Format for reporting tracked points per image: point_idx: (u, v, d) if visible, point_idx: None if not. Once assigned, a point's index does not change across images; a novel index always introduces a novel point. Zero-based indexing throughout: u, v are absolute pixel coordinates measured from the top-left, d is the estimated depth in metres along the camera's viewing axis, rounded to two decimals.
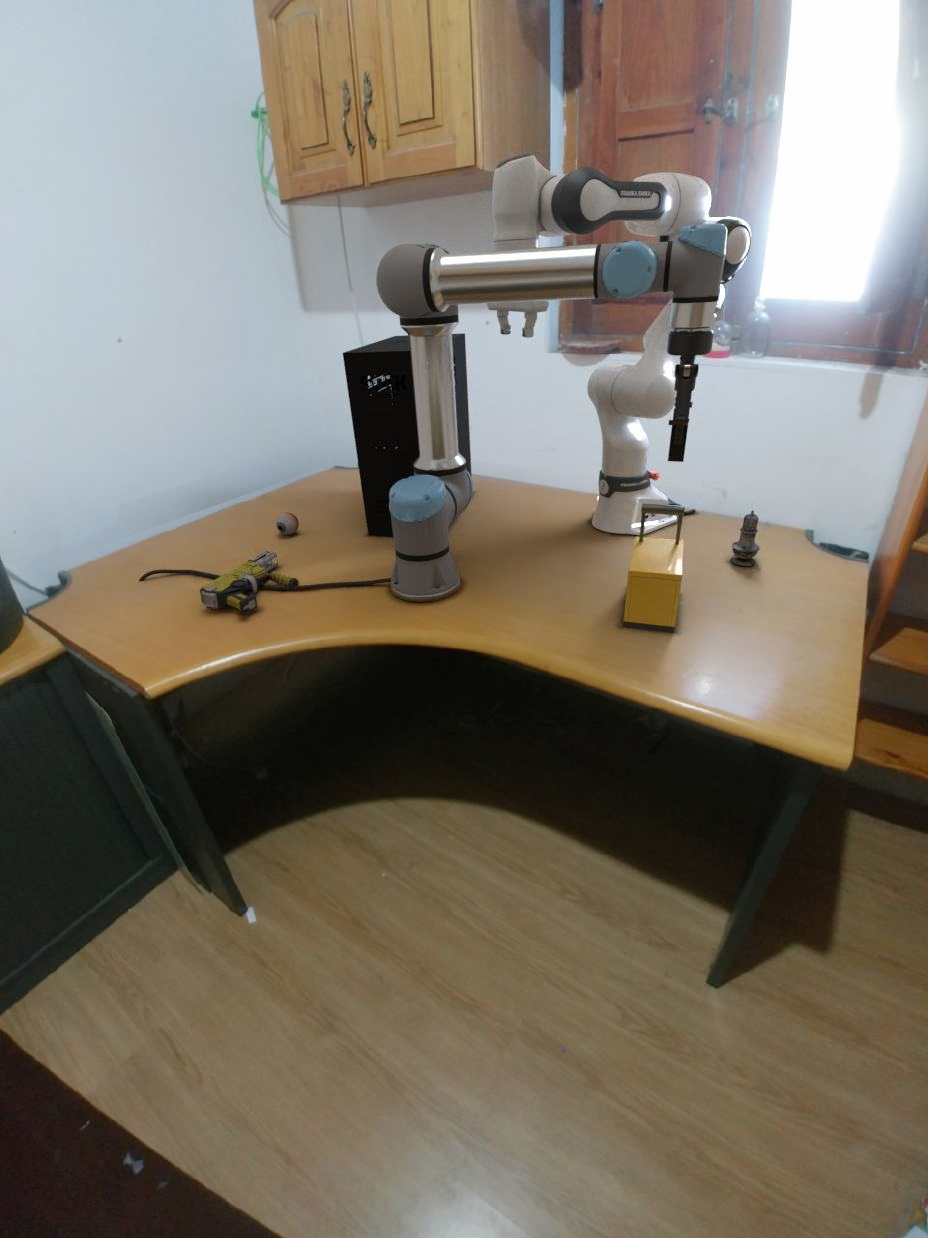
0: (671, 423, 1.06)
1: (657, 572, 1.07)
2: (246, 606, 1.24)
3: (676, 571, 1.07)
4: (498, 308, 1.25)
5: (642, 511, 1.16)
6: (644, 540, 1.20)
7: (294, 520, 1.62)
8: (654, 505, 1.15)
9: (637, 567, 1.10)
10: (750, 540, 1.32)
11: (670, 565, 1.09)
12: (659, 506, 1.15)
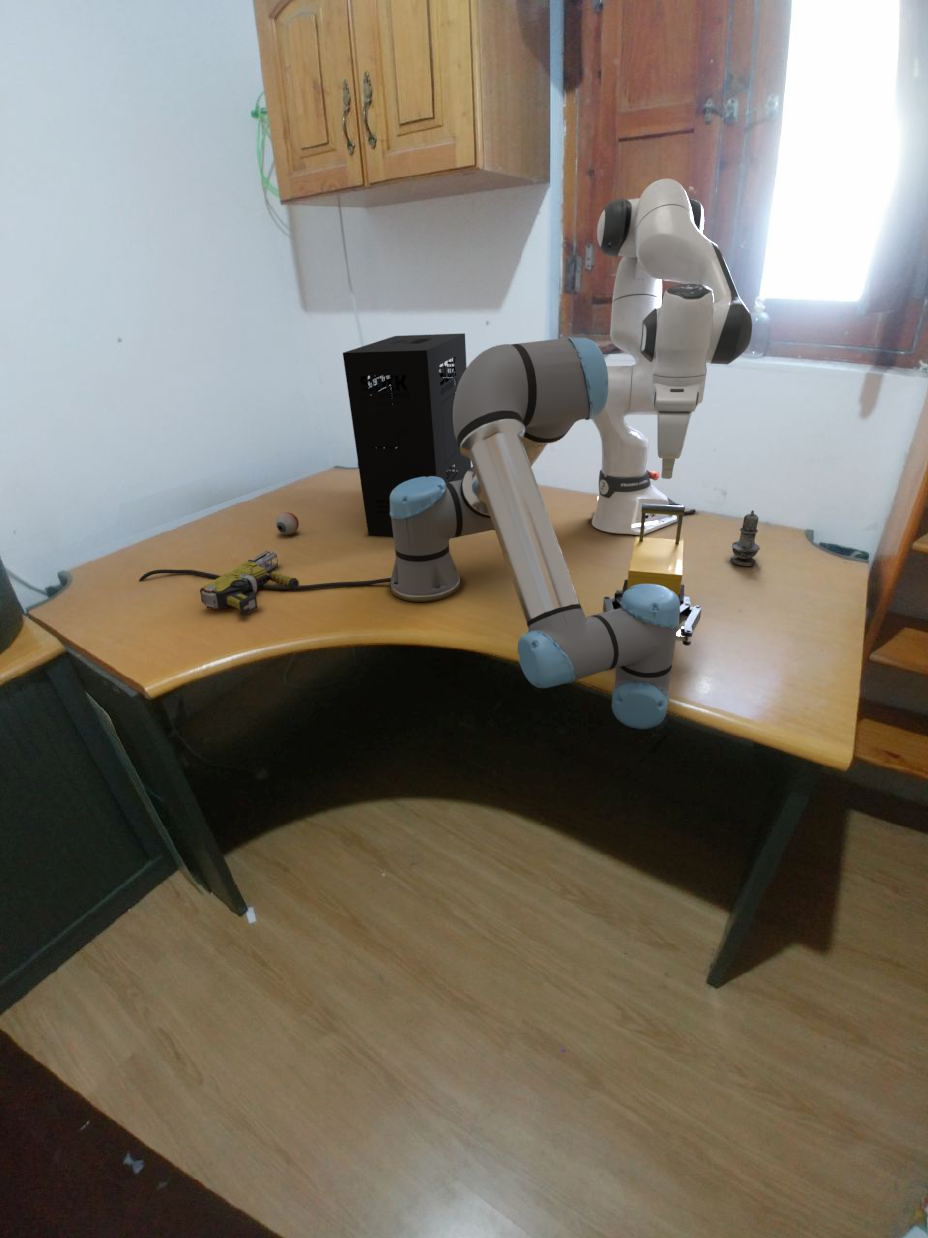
0: (615, 594, 1.09)
1: (657, 572, 1.07)
2: (246, 606, 1.24)
3: (677, 571, 1.07)
4: None
5: (642, 511, 1.16)
6: (644, 540, 1.20)
7: (294, 520, 1.62)
8: (654, 505, 1.15)
9: (637, 567, 1.10)
10: (750, 540, 1.32)
11: (670, 565, 1.09)
12: (659, 506, 1.15)
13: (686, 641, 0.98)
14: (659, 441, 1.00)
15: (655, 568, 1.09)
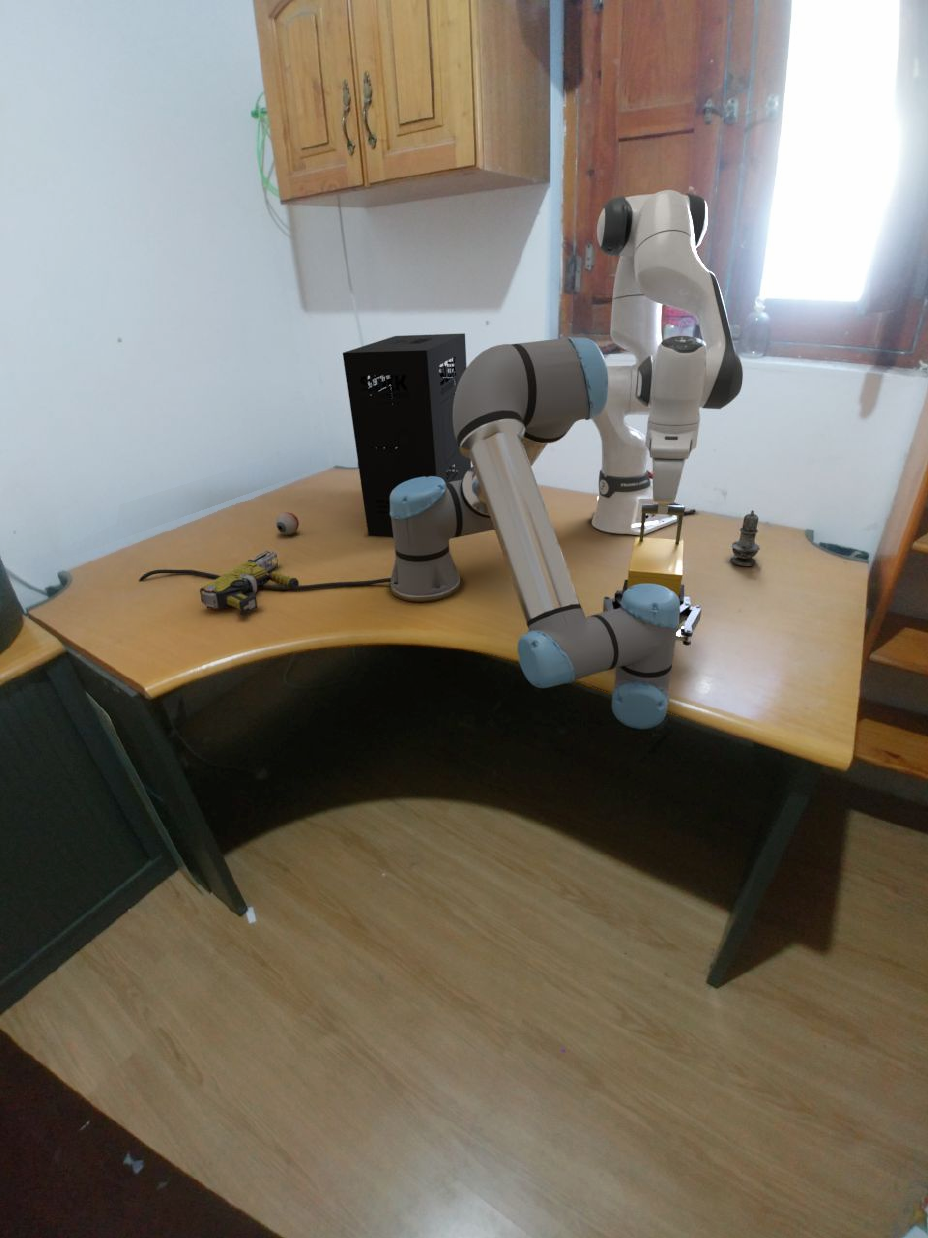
0: (615, 594, 1.09)
1: (657, 572, 1.07)
2: (246, 606, 1.24)
3: (677, 571, 1.07)
4: None
5: (642, 511, 1.16)
6: (644, 541, 1.20)
7: (294, 520, 1.62)
8: (654, 505, 1.15)
9: (637, 567, 1.10)
10: (750, 540, 1.32)
11: (670, 565, 1.09)
12: None
13: (687, 641, 0.98)
14: (654, 486, 1.04)
15: (655, 568, 1.09)
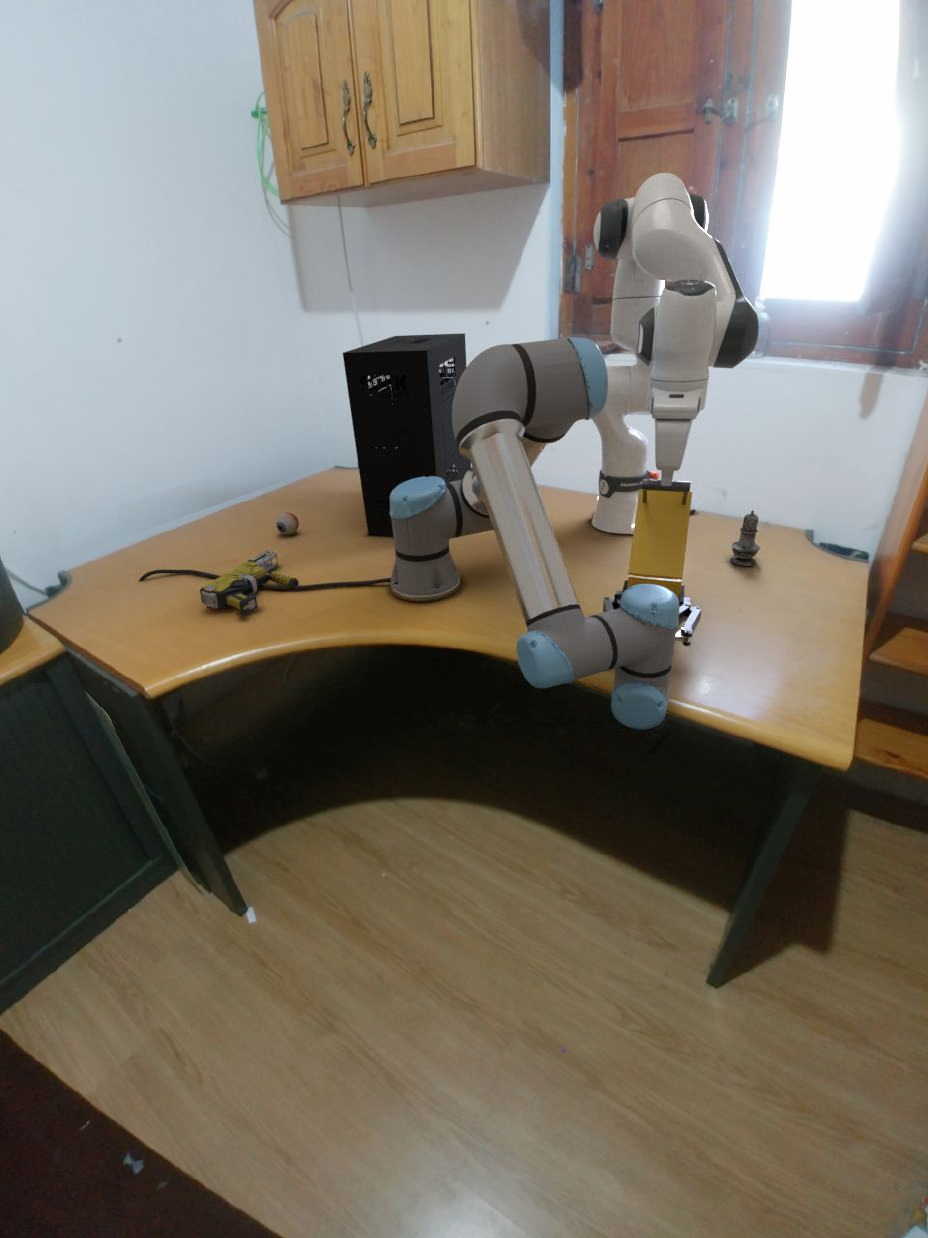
0: (615, 595, 1.08)
1: (657, 574, 1.07)
2: (246, 606, 1.24)
3: (677, 570, 1.06)
4: None
5: (643, 489, 1.04)
6: (648, 499, 1.10)
7: (294, 520, 1.62)
8: (656, 484, 1.03)
9: (637, 565, 1.08)
10: (750, 540, 1.32)
11: (671, 558, 1.07)
12: (661, 486, 1.02)
13: (686, 642, 0.97)
14: (657, 451, 0.91)
15: (655, 565, 1.07)
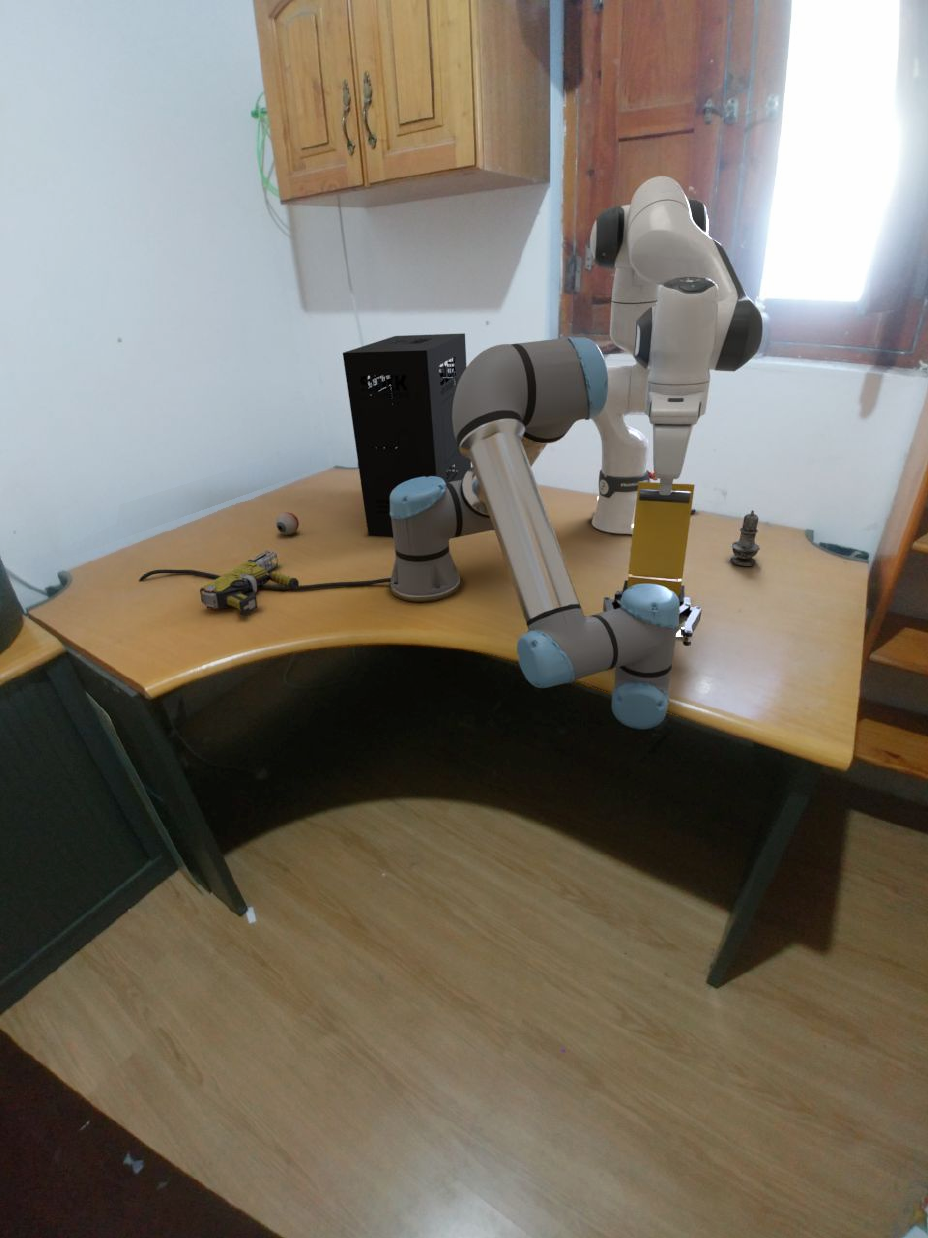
0: (615, 595, 1.09)
1: (657, 576, 1.07)
2: (246, 606, 1.24)
3: (677, 571, 1.06)
4: None
5: None
6: None
7: (294, 520, 1.62)
8: (653, 497, 0.97)
9: (637, 566, 1.08)
10: (750, 540, 1.32)
11: (671, 558, 1.05)
12: (659, 499, 0.97)
13: (687, 641, 0.97)
14: (655, 459, 0.86)
15: (655, 566, 1.07)
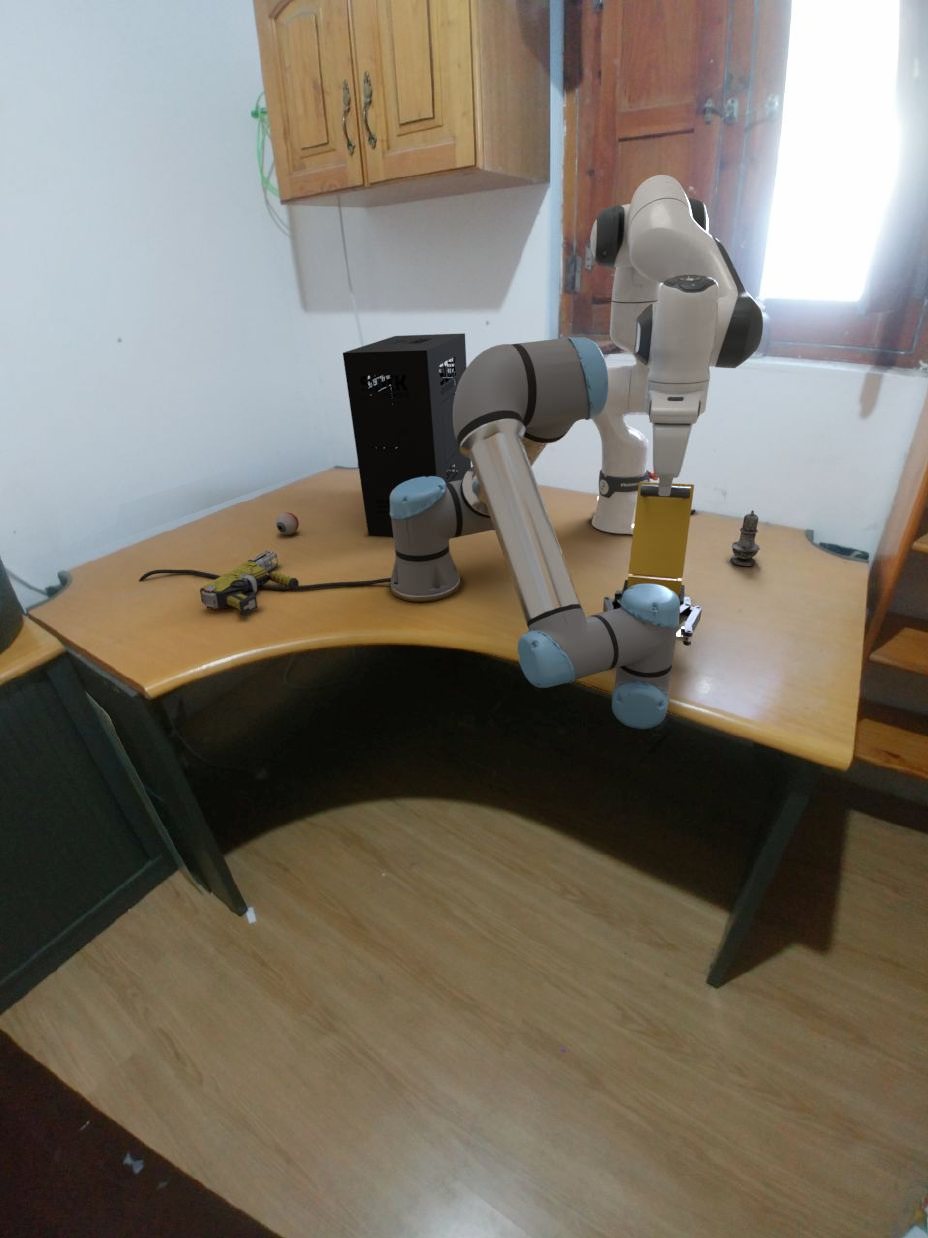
0: None
1: (657, 575, 1.07)
2: (246, 606, 1.24)
3: (677, 570, 1.06)
4: None
5: None
6: None
7: (294, 520, 1.62)
8: (654, 492, 0.99)
9: (637, 565, 1.08)
10: (750, 540, 1.32)
11: (671, 557, 1.06)
12: None
13: (687, 641, 0.98)
14: (655, 458, 0.86)
15: (656, 565, 1.07)
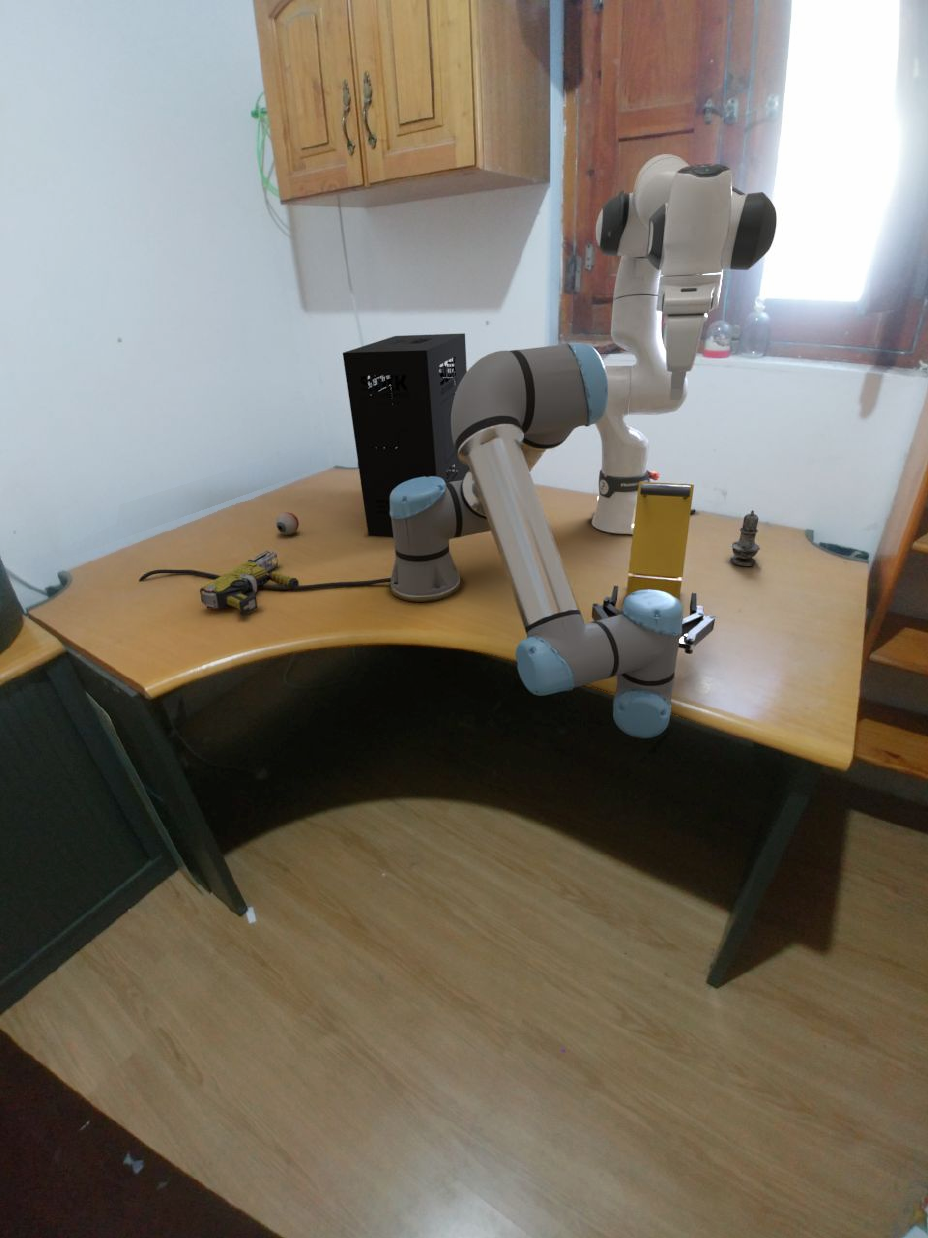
0: None
1: (657, 574, 1.07)
2: (246, 606, 1.24)
3: (677, 570, 1.06)
4: None
5: None
6: None
7: (294, 520, 1.62)
8: (654, 491, 0.99)
9: (637, 564, 1.08)
10: (750, 540, 1.32)
11: (671, 557, 1.06)
12: (660, 492, 0.99)
13: (688, 649, 0.95)
14: (668, 350, 0.86)
15: (656, 565, 1.07)
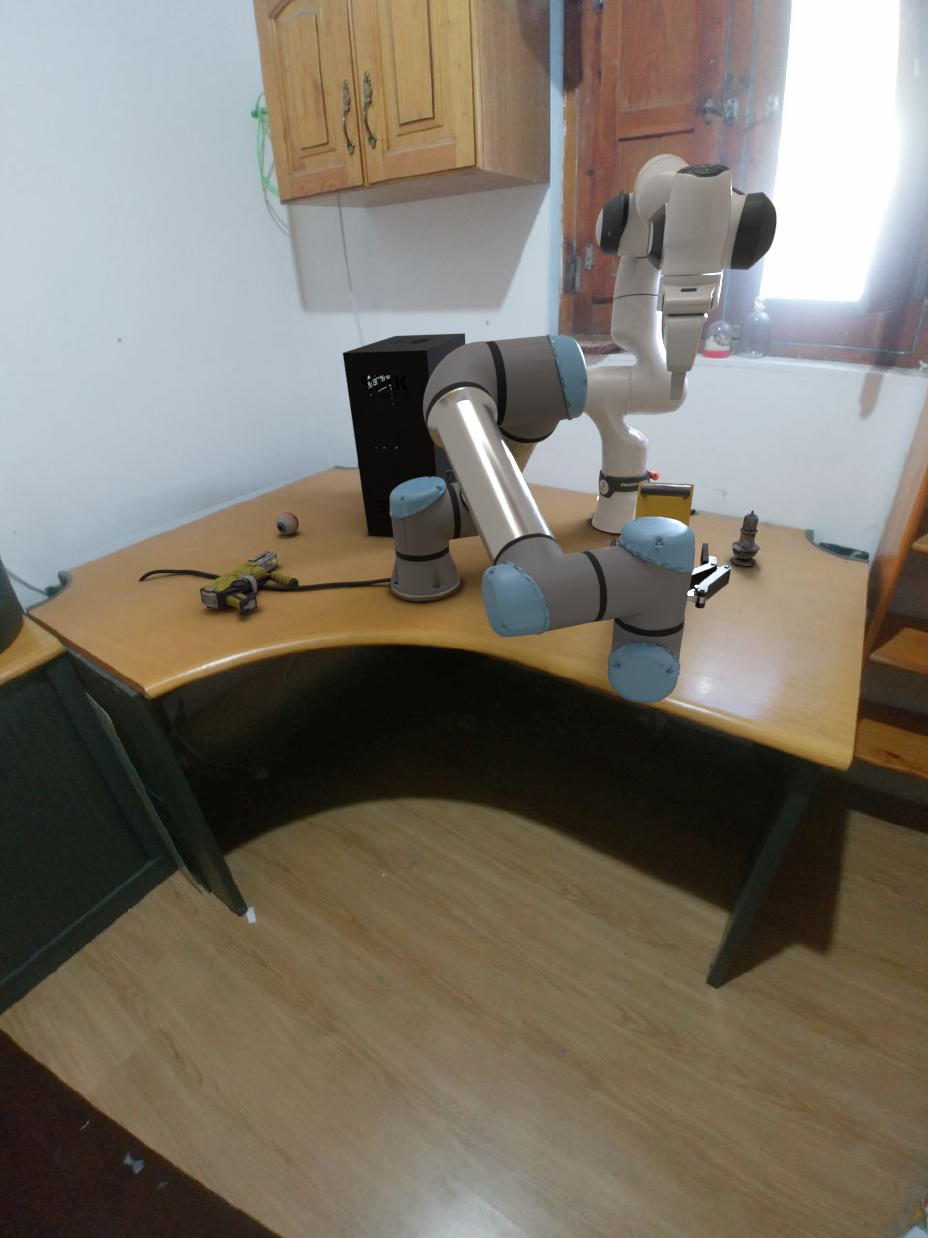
0: None
1: None
2: (246, 606, 1.24)
3: None
4: None
5: None
6: None
7: (294, 520, 1.62)
8: (654, 491, 0.99)
9: None
10: (750, 540, 1.32)
11: None
12: (660, 492, 0.99)
13: (699, 603, 0.80)
14: (668, 350, 0.86)
15: None
